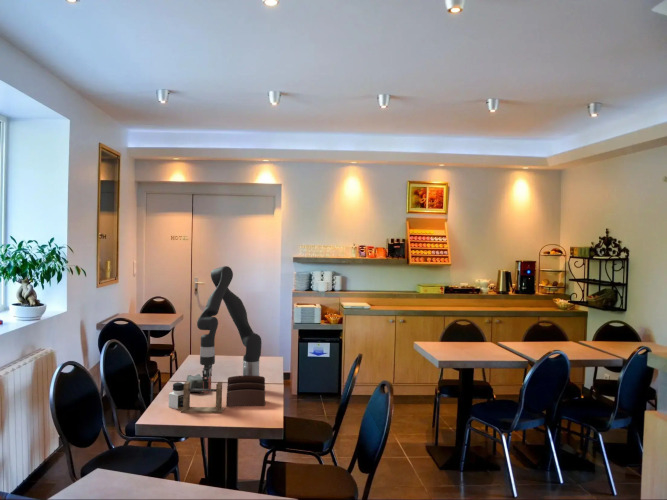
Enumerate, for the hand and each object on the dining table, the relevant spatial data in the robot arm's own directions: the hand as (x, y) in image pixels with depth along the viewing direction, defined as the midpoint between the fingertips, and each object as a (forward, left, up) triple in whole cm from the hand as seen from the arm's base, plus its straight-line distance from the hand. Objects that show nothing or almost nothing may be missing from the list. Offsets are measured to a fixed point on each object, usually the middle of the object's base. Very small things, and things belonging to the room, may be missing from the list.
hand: (207, 387), depth 267 cm
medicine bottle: (+14, +4, -9) cm, 17 cm away
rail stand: (0, +11, -9) cm, 14 cm away
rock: (+11, -28, -9) cm, 31 cm away
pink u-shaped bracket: (0, 0, -2) cm, 2 cm away
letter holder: (-20, -3, -9) cm, 22 cm away
